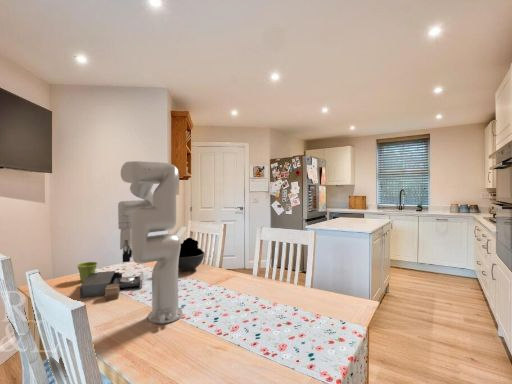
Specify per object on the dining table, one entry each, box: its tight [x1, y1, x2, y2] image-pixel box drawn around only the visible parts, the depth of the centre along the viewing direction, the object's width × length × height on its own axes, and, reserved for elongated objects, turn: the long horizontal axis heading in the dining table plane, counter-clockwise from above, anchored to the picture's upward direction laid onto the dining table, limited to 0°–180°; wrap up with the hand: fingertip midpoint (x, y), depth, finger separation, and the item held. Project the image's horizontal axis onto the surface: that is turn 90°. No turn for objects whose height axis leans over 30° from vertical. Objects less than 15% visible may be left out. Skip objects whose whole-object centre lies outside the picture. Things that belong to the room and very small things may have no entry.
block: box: [104, 284, 120, 301], centre depth 124 cm, size 5×5×5 cm
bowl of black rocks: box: [178, 237, 205, 272], centre depth 165 cm, size 20×20×19 cm
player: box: [79, 270, 123, 299], centre depth 135 cm, size 20×15×5 cm
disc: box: [119, 275, 135, 284], centre depth 139 cm, size 7×7×2 cm
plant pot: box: [76, 261, 99, 283], centre depth 147 cm, size 9×9×9 cm
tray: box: [113, 271, 144, 289], centre depth 139 cm, size 14×14×4 cm
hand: (127, 259), depth 138 cm, fingers open, 9 cm apart
